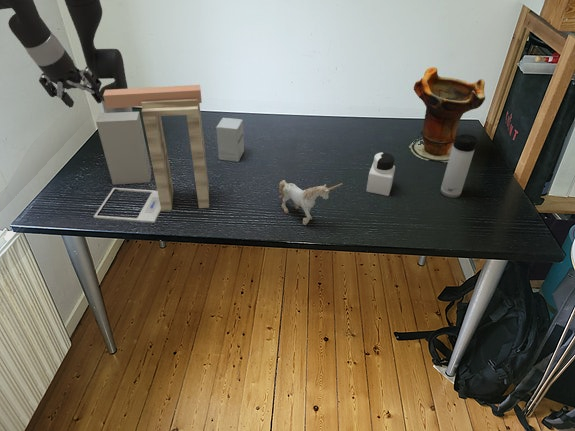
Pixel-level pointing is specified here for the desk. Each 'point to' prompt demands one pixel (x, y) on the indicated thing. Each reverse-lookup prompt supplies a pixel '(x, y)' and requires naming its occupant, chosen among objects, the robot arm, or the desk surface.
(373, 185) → the medicine bottle
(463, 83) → the decorative vase
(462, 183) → the travel mug
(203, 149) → the bridge
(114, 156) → the post
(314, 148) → the desk surface
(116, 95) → the bar
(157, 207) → the photo frame
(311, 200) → the unicorn figurine
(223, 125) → the supplement box
